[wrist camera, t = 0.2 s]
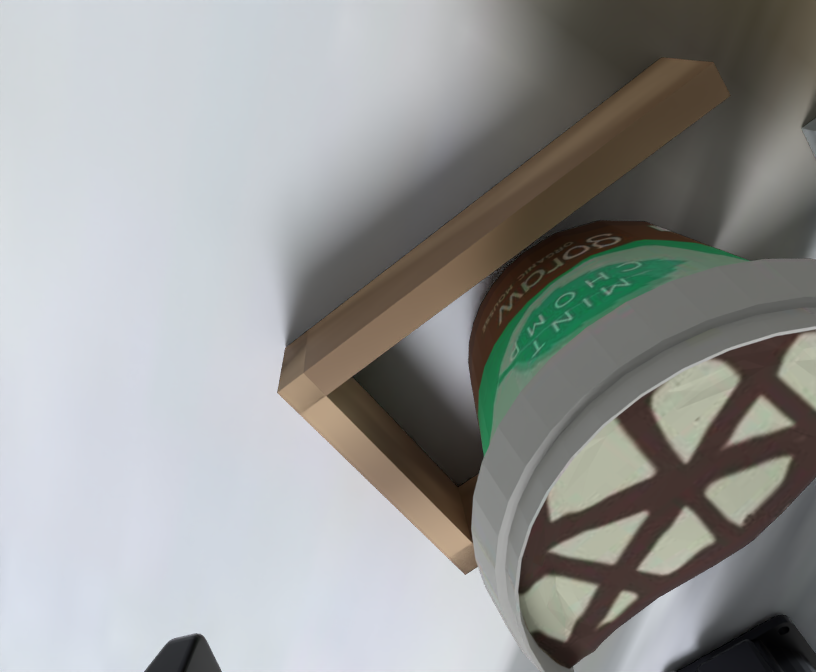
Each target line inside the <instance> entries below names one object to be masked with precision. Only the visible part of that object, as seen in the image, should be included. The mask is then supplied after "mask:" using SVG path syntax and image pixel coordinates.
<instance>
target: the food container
mask: <svg viewBox="0 0 816 672" xmlns="http://www.w3.org/2000/svg"><path fill="white" fill-rule="evenodd" d="M468 364H469V371H470V378H471V385H472V390H473V396H474V402H475V408H476V413H477V419H478V425H479V430H480V436H481V442H482V447H483V453H484V458H483V461H482V464H481V468H480V472H479V476H478V480H477V483H476V487H475V491H474V495H473V509H472V525H471V531H472V538H473V545H474V553H475V560H476V562H477V565H478V568H479V571H480V574H481V576H482V579H483V582H484V585H485V587H486V589H487V591H488V593H489V595H490V596H491V598H492V600H493V602H494V604H495V606H496V607H497V609H498V611H499V613H500V615H501V616H502V618H503V620H504V622H505V624H506V625H507V627H508V629H509V631H510V632H511V634H512V636H513V637H514V639H515V641H516V642H517V644H518V646H519V647H520V649H521V650H522V652H523V653H524V654H525V655H526V656H527V657H528V658H529V660H530V661H531V662H532V663H533V664H534V665H535V666H536V667H537V668H538V669H539V670H540V672H574V670H573V666H574V665H575V664H576V663H578V662H579V661H580V660H581V659H583V658H584V657H585V656H587V655H589V654H590V653H592V652H594V651H595V650H596V649H597V648H598V647H599V645H600V644H601V643H602V642H603V641H604V640H605V639H606V638H607V637H608V636H610V635H611V634H612V633H613V632H614V631H615V630H616V629H617V628H619V627H620V626H621V625H623V624H624V623H625V622H627V621H628V620H629V619H631V618H632V617H633V616H635V615H636V614H637V613H639V612H640V611H641V610H643V609H644V608H645V607H647V606H648V605H649V604H651V603H652V602H653V601H655V600H656V599H657V598H659V597H660V596H662V595H664V594H666V593H667V592H669V591H671V590H673V589H674V588H676V587H678V586H680V585H681V584H683V583H685V582H687V581H688V580H690V579H692V578H694V577H695V576H697V575H699V574H701V573H702V572H704V571H706V570H707V569H709V568H711V567H713V566H714V565H716V564H718V563H719V562H721V561H722V560H724V559H726V558H727V557H729V556H730V555H732V554H734V553H735V552H737V551H738V550H740V549H742V548H743V547H745V546H746V545H747V544H749V543H750V542H751V541H753V540H754V539H755V538H756V537H757V536H758V535H759V534H760V533H761V532H762V531H763V530H764V529H765V528H766V527H767V526H769V525H770V524H771V523H772V522H773V521H774V520H775V519H776V518H777V517H778V516H779V515H780V514H782V512H783V511H784V510H785V509H786V508H787V507H788V506H789V505H790V504H791V503H792V502H793V501H794V500H795V499H796V498H797V497H798V496H799V495H800V493H801V492H802V491H803V490H804V489H805V488H806V487H807V486H808V485H809V484H810V483H811V482H812V481H813V480H814V479H815V478H816V260H815V259H809V258H804V259H760V260H754V261H749V260H746V259H744V258H741V257H738V256H736V255H733V254H730V253H728V252H725V251H722V250H720V249H717V248H714V247H712V246H709V245H706V244H704V243H701V242H698V241H696V240H693V239H690V238H688V237H685V236H682V235H680V234H677V233H674V232H672V231H669V230H666V229H664V228H661V227H658V226H656V225H653V224H650V223H648V222H645V221H607V220H599V221H595V222H592V223H589V224H585V225H582V226H578V227H575V228H571V229H568V230H564V231H561V232H557V233H554V234H553V235H551V236H550V237H548V238H546V239H545V240H543V241H541V242H540V243H538V244H537V245H535V246H533V247H532V248H530V249H529V250H527V251H525V252H524V253H522V254H521V255H520V256H519V257H518V258H517V259H516V260H515V261H514V262H513V263H511V264H510V265H509V266H508V267H507V268H506V269H505V270H504V271H503V273H502V274H501V275H500V276H499V278H498V279H497V280H496V281H495V282H494V284H493V285H492V286H491V288H490V290H489V291H488V293H487V295H486V297H485V298H484V300H483V302H482V303H481V305H480V308H479V310H478V313H477V316H476V318H475V321H474V323H473V327H472V332H471V337H470V342H469V360H468Z"/></svg>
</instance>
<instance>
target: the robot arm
mask: <svg viewBox="0 0 816 672" xmlns="http://www.w3.org/2000/svg"><path fill="white" fill-rule="evenodd" d="M144 672H222V671H221V669H220V667H219V665H218V663H217V661H216V659H215V657H214V655H213V653H212V651H211V649H210V647H209V645H208V642H207V640H206V639H205V637H204V636H203V635H201V634H191V635H187V636H182V637H178V638H174V639H172V640H170V641H169V642H168V643H167V644H166V645H165V646H164V647H163V648H162V650H161V651H160V652H159V653H158V655H157V656H156V657H155V659H154V660H153V661H152V662H151V664H150V665H149V666H148V667H147V669H146V670H145V671H144ZM678 672H816V654H815V653H814V651H813V650H812V649H811V647H810V646H809V645H808V643H807V642H806V640H805V639H804V638H803V636H802V635H801V634H800V632H799V631H798V630H797V628H796V627H795V625H794V624H793V623H792V621H791V620H790V619H789V618H788V617H787V616H785V615H778V616H776V617H774V618H772V619H770V620H768V621H766V622H765V623H763V624H761V625H759V626H758V627H756V628H754V629H752V630H750V631H749V632H747V633H745V634H743V635H742V636H740V637H738V638H736V639H734V640H733V641H731V642H729V643H727V644H726V645H724V646H722V647H720V648H718V649H717V650H715V651H713V652H711V653H710V654H708V655H706V656H704V657H702V658H701V659H699V660H697V661H695V662H694V663H692V664H690V665H688V666H686V667H685V668H683V669H681V670H679V671H678Z"/></svg>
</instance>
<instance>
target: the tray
mask: <svg viewBox="0 0 816 672" xmlns="http://www.w3.org/2000/svg"><path fill="white" fill-rule="evenodd" d="M801 129H802V131H803V133H804V135H805V137H806V139H807V141H808V143H809V146H810V148H811V150H812V152H813V154H814V156H815V158H816V118H815V119H814V120H812V121H811V122H809V123H808V124H807V125H805V126H804V127H802V128H801Z"/></svg>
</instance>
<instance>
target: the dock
mask: <svg viewBox="0 0 816 672" xmlns="http://www.w3.org/2000/svg"><path fill="white" fill-rule="evenodd" d="M730 96H731V95H730V93H729V91H728V89H727V87H726V85H725V84H724V82H723V80H722V78H721V76H720V74H719V72H718V70H717V68H716V66H715V64H714V62H706V61H695V60H685V59H675V58H664V57H661V58H660V59H659V60H657V61H656V62H655V63H654V64H652V65H651V66H650V67H648V68H647V69H646V70H645V71H643V72H642V73H641V74H639V75H638V76H637V77H635V78H634V79H633V80H632V81H630V82H629V83H628V84H626V85H625V86H624V87H622V88H621V89H620V90H619V91H617V92H616V93H615V94H613V95H612V96H611V97H610V98H608V99H607V100H606V101H604V102H603V103H602V104H600V105H599V106H598V107H597V108H595V109H594V110H593V111H591V112H590V113H589V114H588V115H586V116H585V117H584V118H582V119H581V120H580V121H578V122H577V123H576V124H575V125H573V126H572V127H571V128H569V129H568V130H567V131H566V132H564V133H563V134H562V135H560V136H559V137H558V138H556V139H555V140H554V141H553V142H551V143H550V144H549V145H547V146H546V147H545V148H543V149H542V150H541V151H540V152H538V153H537V154H536V155H534V156H533V157H532V158H531V159H529V160H528V161H527V162H525V163H524V164H523V165H521V166H520V167H519V168H518V169H516V170H515V171H514V172H512V173H511V174H510V175H509V176H507V177H506V178H505V179H503V180H502V181H501V182H499V183H498V184H497V185H496V186H494V187H493V188H492V189H490V190H489V191H488V192H487V193H485V194H484V195H483V196H481V197H480V198H479V199H477V200H476V201H475V202H474V203H472V204H471V205H470V206H468V207H467V208H466V209H464V210H463V211H462V212H461V213H459V214H458V215H457V216H455V217H454V218H453V219H452V220H450V221H449V222H448V223H446V224H445V225H444V226H442V227H441V228H440V229H439V230H437V231H436V232H435V233H433V234H432V235H431V236H430V237H428V238H427V239H426V240H424V241H423V242H422V243H420V244H419V245H418V246H417V247H415V248H414V249H413V250H411V251H410V252H409V253H407V254H406V255H405V256H404V257H402V258H401V259H400V260H398V261H397V262H396V263H395V264H393V265H392V266H391V267H389V268H388V269H387V270H385V271H384V272H383V273H382V274H380V275H379V276H378V277H376V278H375V279H374V280H373V281H371V282H370V283H369V284H367V285H366V286H365V287H363V288H362V289H361V290H360V291H358V292H357V293H356V294H354V295H353V296H352V297H351V298H349V299H348V300H347V301H345V302H344V303H343V304H341V305H340V306H339V307H338V308H336V309H335V310H334V311H332V312H331V313H330V314H328V315H327V316H326V317H325V318H323V319H322V320H321V321H319V322H318V323H317V324H316V325H314V326H313V327H312V328H310V329H309V330H308V331H306V332H305V333H304V334H303V335H301V336H300V337H299V338H297V339H296V340H295V341H294V342H292V343H291V344H290V345H288V346H287V347H286V348H285V352H284V358H283V363H282V369H281V375H280V380H279V386H278V391H277V393H278V394H279V395H280V396H281V397H282V398H283V399H284V400H285V401H286V402H287V403H288V404H289V405H290V406H292V407H293V408H294V409H295V410H296V411H297V412H298V413H299V414H300V415H301V416H302V417H303V418H304V419H305V420H306V421H307V422H308V423H309V424H310V425H311V426H312V427H313V428H314V429H315V430H316V431H317V432H318V433H319V434H320V435H321V436H322V437H324V438H325V439H326V440H327V441H328V442H329V443H330V444H331V445H332V446H333V447H334V448H335V449H336V450H337V451H338V452H339V453H340V454H341V455H342V456H343V457H344V458H345V459H346V460H347V461H348V462H349V463H350V464H351V465H352V466H353V467H355V468H356V469H357V470H358V471H359V472H360V473H361V474H362V475H363V476H364V477H365V478H366V479H367V480H368V481H369V482H370V483H371V484H372V485H373V486H374V487H375V488H376V489H377V490H378V491H379V492H380V493H381V494H382V495H383V496H384V497H385V498H387V499H388V500H389V501H390V502H391V503H392V504H393V505H394V506H395V507H396V508H397V509H398V510H399V511H400V512H401V513H402V514H403V515H404V516H405V517H406V518H407V519H408V520H409V521H410V522H411V523H412V524H413V525H414V526H415V527H416V528H417V529H419V530H420V531H421V532H422V533H423V534H424V535H425V536H426V537H427V538H428V539H429V540H430V541H431V542H432V543H433V544H434V545H435V546H436V547H437V548H438V549H439V550H440V551H441V552H442V553H443V554H444V555H445V556H446V557H447V558H448V559H449V560H451V561H452V562H453V563H454V564H455V565H456V566H457V567H458V568H459V569H460V570H461V571H462V572H463V573H464V574H465V575H466V574H467V573H469V572H470V571H472V570H474V569H475V568H477V567H478V565H477V562H476V560H475V553H474V545H473V538H472V531H471V525H472V509H473V495H474V491H475V487H476V483H477V480H478V476H479V474H477V475H476V476H474V477H473V478H471V479H470V480H468V481H467V482H465V483H464V484H462V485H461V486H459V487H457V486H456V485H455V484H454V483H453V482H452V480H451V479H450V478H449V477H448V476H447V475H446V474H445V473H444V472H443V471H442V470H441V469H440V468H439V467H438V466H437V465H436V464H435V463H434V462H433V461H432V460H431V458H430V457H429V456H428V455H427V454H426V453H425V452H424V451H423V450H422V449H421V448H420V447H419V446H418V445H417V444H416V443H415V442H414V441H413V440H412V439H411V438H410V436H409V435H408V434H407V433H406V432H405V431H404V430H403V429H402V428H401V427H400V426H399V425H398V424H397V423H396V422H395V421H394V420H393V419H392V418H391V417H390V416H389V414H388V413H387V412H386V411H385V410H384V409H383V408H382V407H381V406H380V405H379V404H378V403H377V402H376V401H375V400H374V399H373V398H372V397H371V396H370V395H369V393H368V392H367V391H366V390H365V389H364V388H363V387H362V386H361V385H360V384H359V383H358V382H357V381H356V380H355V379H354V378H353V377H352V376H354V375H355V374H356V373H358V372H359V371H360V370H362V369H363V368H364V367H366V366H367V365H368V364H370V363H371V362H372V361H374V360H375V359H376V358H378V357H379V356H381V355H382V354H383V353H385V352H386V351H387V350H389V349H390V348H391V347H393V346H394V345H395V344H397V343H398V342H399V341H401V340H402V339H403V338H405V337H406V336H407V335H409V334H410V333H412V332H413V331H414V330H416V329H417V328H418V327H420V326H421V325H422V324H424V323H425V322H426V321H428V320H429V319H430V318H432V317H433V316H434V315H436V314H437V313H438V312H440V311H441V310H443V309H444V308H445V307H447V306H448V305H449V304H451V303H452V302H453V301H455V300H456V299H457V298H459V297H460V296H461V295H463V294H464V293H465V292H467V291H468V290H469V289H471V288H472V287H474V286H475V285H476V284H478V283H479V282H480V281H482V280H483V279H484V278H486V277H487V276H488V275H490V274H491V273H492V272H494V271H495V270H496V269H498V268H499V267H500V266H502V265H503V264H505V263H506V262H507V261H509V260H510V259H511V258H513V257H514V256H515V255H517V254H518V253H519V252H521V251H522V250H523V249H525V248H526V247H527V246H529V245H530V244H531V243H533V242H534V241H536V240H537V239H538V238H540V237H541V236H542V235H544V234H545V233H546V232H548V231H549V230H550V229H552V228H553V227H554V226H556V225H557V224H558V223H560V222H561V221H562V220H564V219H565V218H567V217H568V216H569V215H571V214H572V213H573V212H575V211H576V210H577V209H579V208H580V207H581V206H583V205H584V204H585V203H587V202H588V201H589V200H591V199H592V198H593V197H595V196H596V195H598V194H599V193H600V192H602V191H603V190H604V189H606V188H607V187H608V186H610V185H611V184H612V183H614V182H615V181H616V180H618V179H619V178H620V177H622V176H623V175H624V174H626V173H627V172H629V171H630V170H631V169H633V168H634V167H635V166H637V165H638V164H639V163H641V162H642V161H643V160H645V159H646V158H647V157H649V156H650V155H651V154H653V153H654V152H655V151H657V150H658V149H660V148H661V147H662V146H664V145H665V144H666V143H668V142H669V141H670V140H672V139H673V138H674V137H676V136H677V135H678V134H680V133H681V132H682V131H684V130H685V129H686V128H688V127H689V126H691V125H692V124H693V123H695V122H696V121H697V120H699V119H700V118H701V117H703V116H704V115H705V114H707V113H708V112H709V111H711V110H712V109H713V108H715V107H716V106H717V105H719V104H720V103H722V102H723V101H724V100H726V99H727V98H728V97H730Z"/></svg>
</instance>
